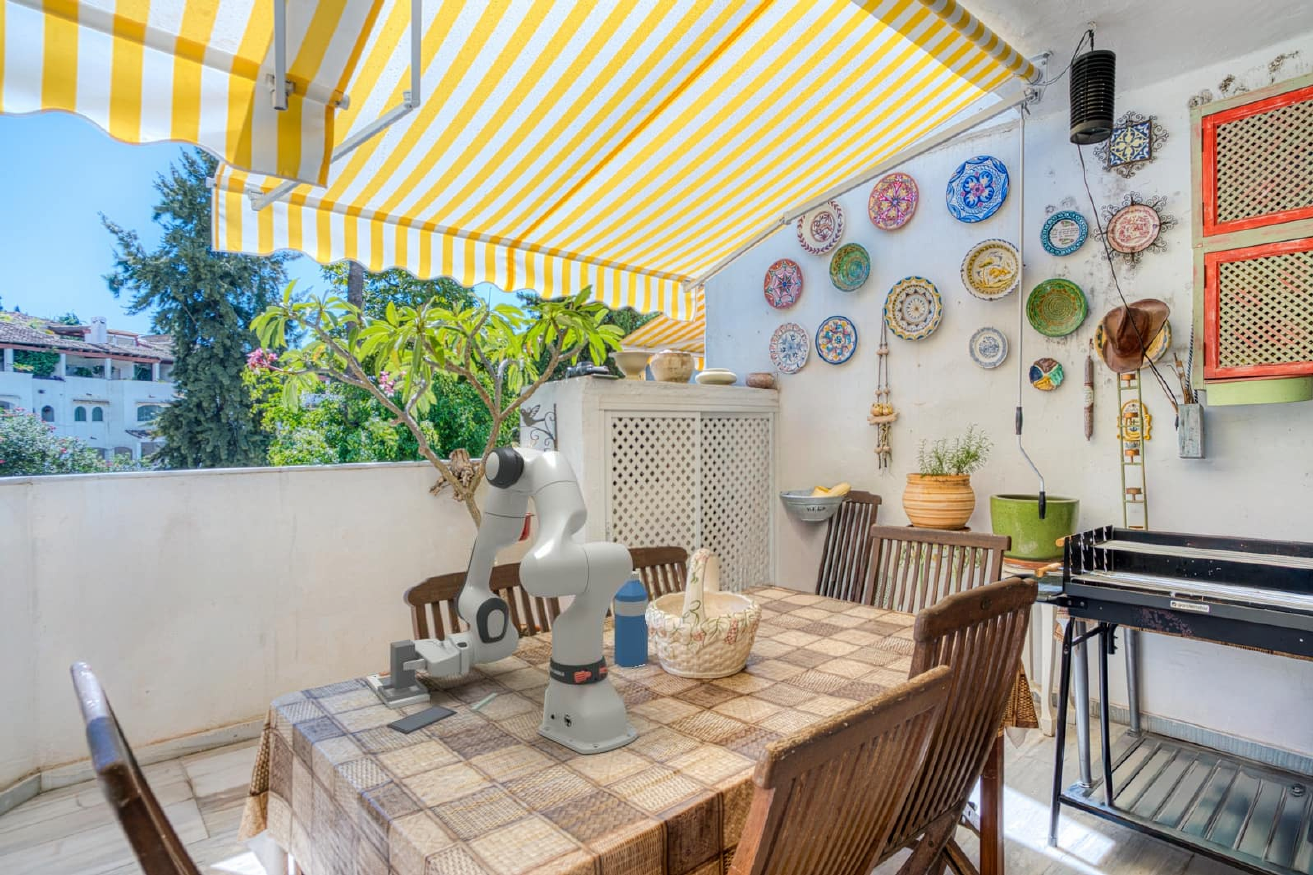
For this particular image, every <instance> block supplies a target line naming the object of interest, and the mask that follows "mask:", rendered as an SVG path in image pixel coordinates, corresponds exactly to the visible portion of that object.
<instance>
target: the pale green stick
mask: <svg viewBox="0 0 1313 875" xmlns="http://www.w3.org/2000/svg"><path fill="white" fill-rule="evenodd" d="M498 696H499V693H498V692H492V693H491V694H489V695H488V696H487V697H486V698H484V699H483V700H480V702H477V704H475V705H473V706H472V707H471V708H470V710H469V711H470V712H472V713H476V712H477V711H479V710H480V709H482V707H484V706H486V705H487V704H489V703H490V702H491V701H492V700H493V701H494V699H496V698H497V697H498Z"/></svg>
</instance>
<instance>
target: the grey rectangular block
mask: <svg viewBox="0 0 1313 875" xmlns="http://www.w3.org/2000/svg"><path fill="white" fill-rule="evenodd" d="M412 641H413V640H411V639H404V640H399V641H394V642H393V641H392V642H390V645H389V646H390V647H389V648H390V651H389V652H390V655H389V656H390V657H389V658H390V660H389V661H390V663H389V665H390V666H389V668H390V685H391V686H392V687H393V688H394V689H395V690H398V689H403V688H408V687H412V686H415V678H416V670H414V669H410V670H404V669H402V662H403V661H408V660H410V661H415V643H413V642H412Z"/></svg>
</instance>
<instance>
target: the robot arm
mask: <svg viewBox="0 0 1313 875" xmlns="http://www.w3.org/2000/svg"><path fill="white" fill-rule="evenodd" d="M484 476H485V478H486V480H487V482H488V484H489V486H488V490H487V492H486V496H485V500H484V503H483V510H482V514H481V519H480V525H479V529H478V532H477V535H476V538H475V540H474V543H473V547H472V551H471V555H470V559H469V561H468V562H469V563H468V566H467V570H466V575H465V578H464V580H463V583H462V585H461V587H460V588H459V590H458V592H457V594H456V595H455V598H454V601H453V602H454V604H453V606H454V607H453V608H454V609H453V610H454V612H455V614H456V616H457V617H459V619H461V620H463V621H464V622H466V623H468V624H469V629H468V630H467V631H463V632H456V633H451V634H447V635H445V637H444V640H439V638H424V639H416V640H411V641H412V642H413V643H415V661H410V660H408V661H403V662H402V669H404V670H410V669H414V670H415V671H416V670H419V671H420V670H424V671H425V672H426V673H427V674H429V676H430V677H433V678H434V677H435V678H440V677H441V678H442V677H448V676H453V675H458V674H459V675H467V674H469V673H470V668H471V667H473V666H475V665H478V664H479V665H480V664H482V665H486V664H491V663H496V662H498V661H502V660H505V659H508V658H509V657H511V656H512V655H513V654H515V653H516V651H517V649H518V647H519V642H520V641H519V639H520V638H519V632H518V629H517V628H516V627H515V625H514V624H513V622H512V620H511V616H510V609H509V606H508V604H507V602H506V601H505V600H504V599H503V598H501V597H500V596H499V595H497V594H496V593H494V592H492V591H491V588H490V580H491V579H490V578H491V576H492V571H493V567H494V562H495V559H496V557H497V555H498V553H499V552H500V551H501V550H504V549H507V548H510V547H512V546H513V545H514V544H515V545H516V544H517V542H519V540H520V538H521V537H522V534H523V531H524V528H525V524H526V519H527V512H528V503H529V499H530V498H531V497H533V502H534V507H535V510H536V516H537V520H538V536H537V539H536V541H535V543H534V544H533V546H532V548H531V549H529V550H528V551H527V552H526V554H525V555H524V556H523V558H522V560H521V562H520V565H519V572H518V575H519V580H520V581H519V582H520V584H521V586H522V588H523V589H524V591H525V592H526V593H527V594H528V595H529V596H531V597H538V598H539V597H540V598H551V599H553V598H560V597H569V596H574V598H573V601H572V602H571V604H570V605H569V606H568V607H567V608H566V609H564V610H563V611H562V612H560V613H559V614H558V615H557V616H556V617H555V619H554V622H553V624H552V629H551V631H552V632H551V636H552V637H551V640H552V641H551V657H550V659H549V676H550V677H551V678H550V682H549V684H548V686H547V687H546V689H545V693H544V701H543V702H544V703H543V713H542V722H541V723H540V725H538V727H537V734H539V735H540V736H543V737H546V738H547V739H549V740H552V741H554V742H556V743H558V744H560V745H563V746H565V748H568V749H570V750H573V751H576V753H579V754H582V755H588V754H589V755H590V754H600V753H603V752H607V751H611V750H615V749H618V748H620V747H623V746H626V745H627V744H630V743H632V742H633V741H635V740H636V739H637V738H638V737H639V730H638V729H637V728H636V727H635V726H634V725H632V723H631V722H629V721H628V720H627V718H628V716H627V708H626V698H625V696H624V695H619V693H618V692H617V690H616V689H615V687H614V685H613V684H612V682H611V680H610V679H609V676H608V675H609V672H610V670H608V669H609V668H610V666H607V661H606V658H605V655H604V632H605V630H604V629H605V623H606V622H605V621H606V618H607V613H608V611H609V608H610V606H611V604H612V602H613V600H614V599H615V595H616V594H617V592H618V591H619V590H620V589H621V588H622V587H623V586H624V585H625V584H626V583H627V582H628V580H629V579H630V577H631V574H632V571H633V568H634V564H633V563H634V562H633V558H632V555H631V552H630V551H629V550H628V548H627V547H626V546H625V545H624V544H622V543H618V542H614V541H613V542H612V541H604V540H602V541H589V542H581V543H579V542H578V543H577V542H574V541H573V539H572V538H573V537H572V536H573V535H575V534H576V533H578V532H579V531H580V530H581V529H582V528H583V527H584V526H585V524H586V522H587V518H588V510H587V507H586V504H585V500H584V497H583V494H582V491H581V487H580V484H579V481H578V479H577V475H576V474H575V471H574V469H573V467H572V465H571V462H570V461H569V460H568V458H567V456H566V455H565V454H564V453H562V452H561V451H558V450H557V451H556V450H546V451H544V450H540V449H534V448H531V447H530V448H529V447H521V446H519V447H517V446H510V445H501V446H495V447H493V449H491V450H490V452H489V453H488V454H487V456H486V459H485V461H484Z"/></svg>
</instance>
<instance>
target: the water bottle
mask: <svg viewBox="0 0 1313 875" xmlns="http://www.w3.org/2000/svg"><path fill="white" fill-rule="evenodd" d="M639 574H640V573H639V571H636V570H635V571H633V570H632V574H631V577H630V579H629V580H628V582H627V583H626V584H625V585H624V586H623V587H622V588H621V589H620V590H619V591H618V592H617V594H616V595H615V597H614V644H613V646H614V653H613V654H614V664H615V665H616V664H618V665H619V666H621V667H620V668H625V667H635V666H639V665H643V664H646V665H647V663H648V662H649V625H648V626H647V624H646V620H645V613H646V609H647V606H648V607H649V591H648V590H647V589H646V587H645V585H644V584H643V583H642V582H641V580H640V576H639ZM647 661H648V662H647ZM646 662H647V663H646ZM618 665H617V666H618ZM619 666H618V667H619Z"/></svg>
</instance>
